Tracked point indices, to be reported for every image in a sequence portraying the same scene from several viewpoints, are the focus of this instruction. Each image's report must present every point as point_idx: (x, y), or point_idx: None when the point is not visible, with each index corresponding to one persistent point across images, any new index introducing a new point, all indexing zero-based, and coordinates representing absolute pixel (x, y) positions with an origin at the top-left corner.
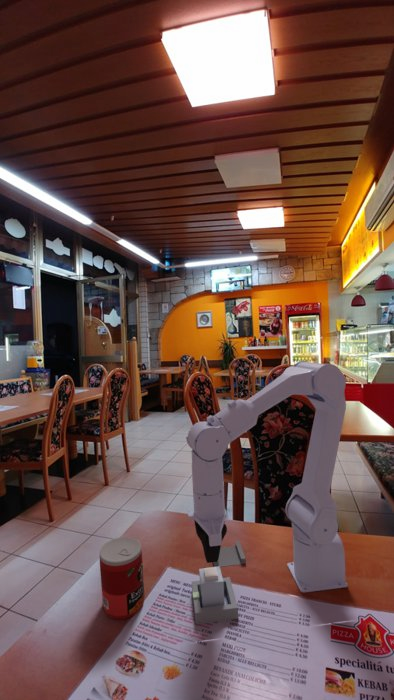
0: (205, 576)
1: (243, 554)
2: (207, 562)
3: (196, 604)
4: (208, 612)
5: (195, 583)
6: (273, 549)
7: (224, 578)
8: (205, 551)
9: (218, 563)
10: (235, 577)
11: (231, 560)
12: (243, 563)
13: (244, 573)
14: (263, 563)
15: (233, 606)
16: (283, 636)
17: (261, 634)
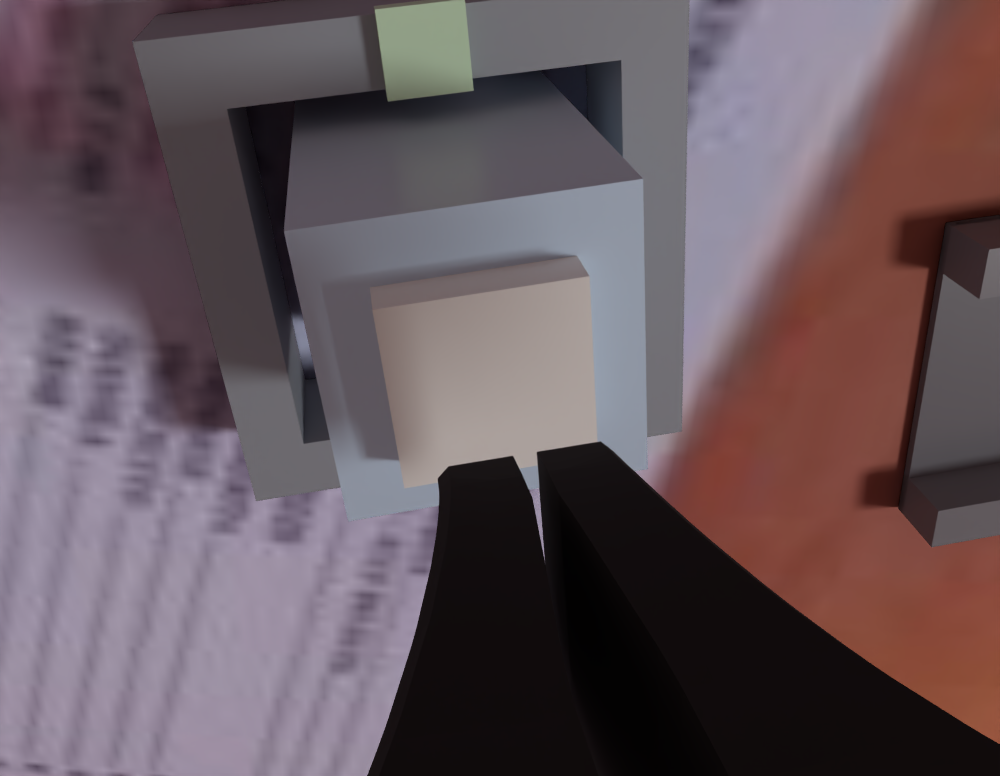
0: (386, 314)
1: (989, 530)
2: (442, 477)
3: (283, 55)
4: (178, 206)
5: (647, 33)
6: (997, 698)
7: (669, 382)
8: (411, 663)
9: (966, 287)
10: (765, 419)
11: (987, 396)
12: (908, 497)
13: (795, 492)
14: (868, 629)
15: (269, 463)
16: (130, 709)
17: (128, 586)
